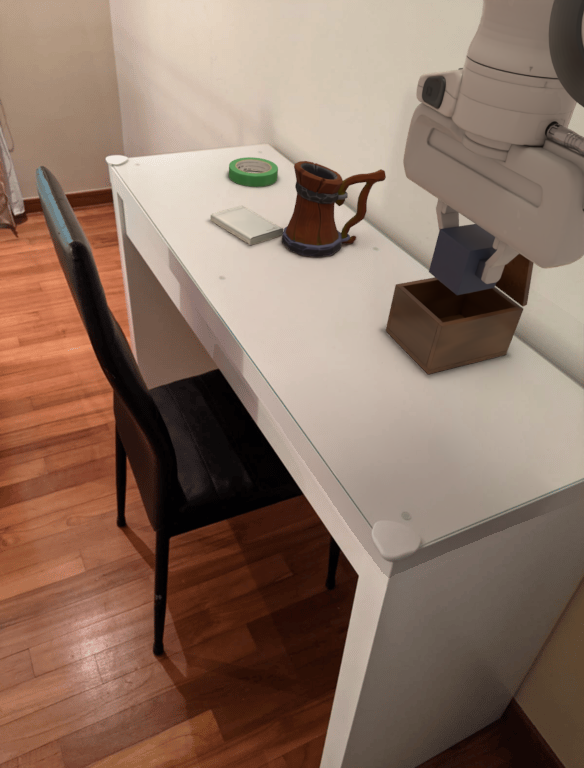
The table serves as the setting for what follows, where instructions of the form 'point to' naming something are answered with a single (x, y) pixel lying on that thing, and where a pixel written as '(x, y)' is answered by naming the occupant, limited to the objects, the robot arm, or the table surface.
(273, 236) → the hard drive
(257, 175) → the tape roll
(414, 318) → the chest
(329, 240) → the mug
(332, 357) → the table surface
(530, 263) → the lid
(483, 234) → the block
